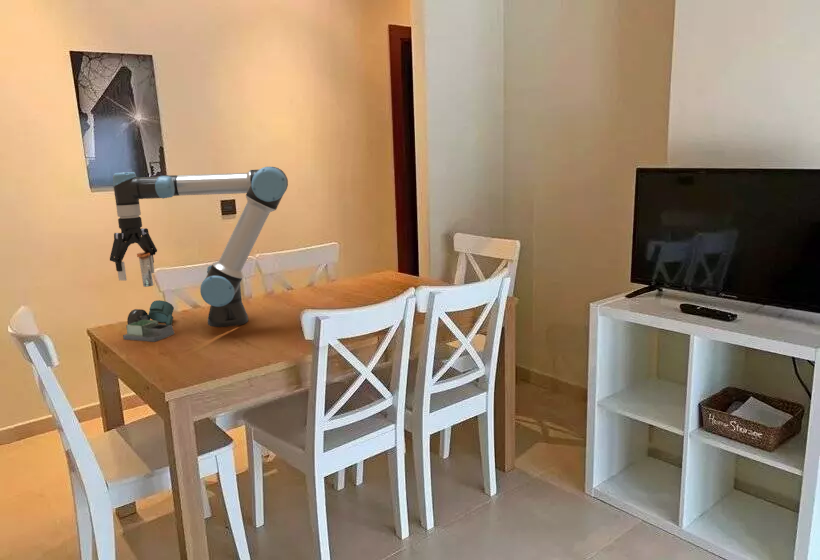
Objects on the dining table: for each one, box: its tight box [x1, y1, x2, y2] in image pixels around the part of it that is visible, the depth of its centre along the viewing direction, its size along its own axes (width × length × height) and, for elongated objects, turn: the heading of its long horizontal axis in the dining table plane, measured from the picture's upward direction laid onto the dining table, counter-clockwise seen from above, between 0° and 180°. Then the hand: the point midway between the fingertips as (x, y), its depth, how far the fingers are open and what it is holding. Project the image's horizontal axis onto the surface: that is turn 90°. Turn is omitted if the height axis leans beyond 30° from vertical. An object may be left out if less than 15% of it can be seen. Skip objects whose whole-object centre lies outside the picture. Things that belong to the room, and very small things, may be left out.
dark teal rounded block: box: [147, 299, 175, 325], centre depth 247 cm, size 9×9×9 cm
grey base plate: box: [122, 319, 175, 343], centre depth 231 cm, size 14×10×5 cm
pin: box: [136, 251, 154, 288], centre depth 232 cm, size 4×4×12 cm
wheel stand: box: [127, 308, 149, 325], centre depth 238 cm, size 6×8×8 cm
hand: (137, 276), depth 228 cm, fingers open, 13 cm apart
